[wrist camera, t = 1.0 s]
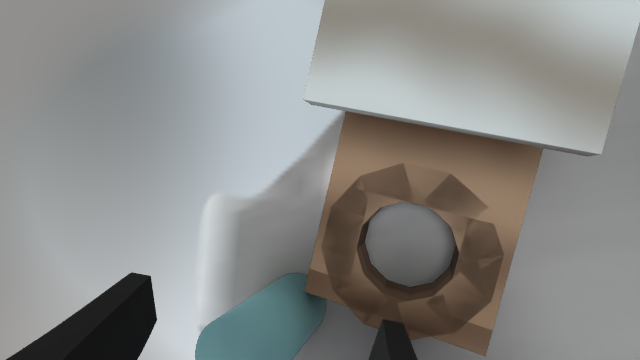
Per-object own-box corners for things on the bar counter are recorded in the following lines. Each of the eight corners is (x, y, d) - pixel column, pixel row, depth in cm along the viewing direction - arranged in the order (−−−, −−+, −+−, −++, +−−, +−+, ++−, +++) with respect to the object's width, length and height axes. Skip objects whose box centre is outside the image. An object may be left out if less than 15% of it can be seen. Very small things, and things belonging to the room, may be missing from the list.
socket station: (476, 344, 20) (509, 469, 12) (315, 288, 23) (246, 353, 14) (550, 74, 19) (649, -12, 10) (371, 50, 22) (332, -32, 13)
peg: (318, 342, 23) (261, 422, 15) (264, 320, 24) (187, 385, 17) (331, 284, 23) (281, 336, 15) (277, 265, 24) (204, 305, 16)
